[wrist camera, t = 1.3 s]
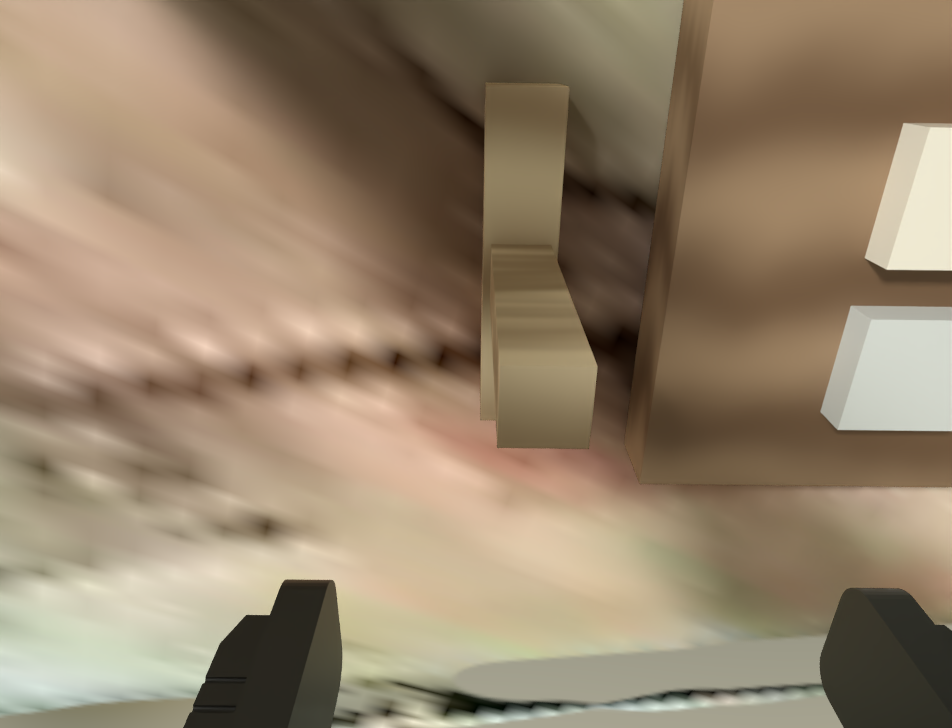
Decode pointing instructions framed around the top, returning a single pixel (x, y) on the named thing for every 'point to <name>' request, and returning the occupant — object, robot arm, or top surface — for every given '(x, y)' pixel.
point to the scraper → (529, 277)
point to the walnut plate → (781, 240)
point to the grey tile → (893, 370)
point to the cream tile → (916, 203)
